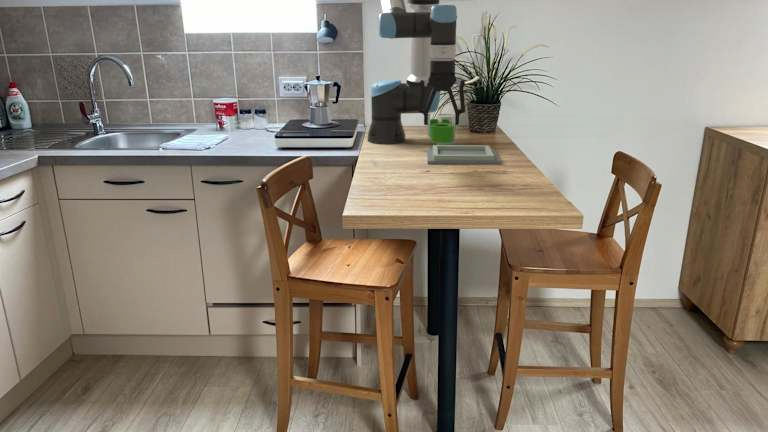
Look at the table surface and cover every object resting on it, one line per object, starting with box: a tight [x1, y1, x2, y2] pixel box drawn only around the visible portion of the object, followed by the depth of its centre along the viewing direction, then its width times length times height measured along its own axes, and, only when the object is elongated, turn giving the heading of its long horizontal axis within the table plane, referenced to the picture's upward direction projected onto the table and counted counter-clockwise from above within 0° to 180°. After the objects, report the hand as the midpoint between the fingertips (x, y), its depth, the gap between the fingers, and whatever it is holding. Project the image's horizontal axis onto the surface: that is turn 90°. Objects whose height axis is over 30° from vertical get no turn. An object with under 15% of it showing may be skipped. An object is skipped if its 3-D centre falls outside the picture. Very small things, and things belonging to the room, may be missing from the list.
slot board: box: [426, 144, 502, 165], centre depth 202 cm, size 24×20×2 cm
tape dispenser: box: [429, 118, 455, 144], centre depth 181 cm, size 15×7×5 cm, turn 0°
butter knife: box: [369, 159, 379, 168], centre depth 189 cm, size 1×27×3 cm
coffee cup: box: [434, 113, 457, 145], centre depth 217 cm, size 9×8×12 cm
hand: (441, 135), depth 182 cm, fingers closed on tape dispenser, 7 cm apart
